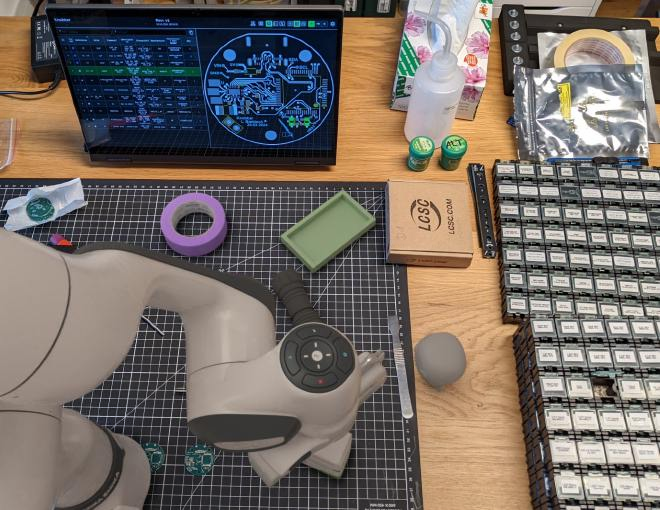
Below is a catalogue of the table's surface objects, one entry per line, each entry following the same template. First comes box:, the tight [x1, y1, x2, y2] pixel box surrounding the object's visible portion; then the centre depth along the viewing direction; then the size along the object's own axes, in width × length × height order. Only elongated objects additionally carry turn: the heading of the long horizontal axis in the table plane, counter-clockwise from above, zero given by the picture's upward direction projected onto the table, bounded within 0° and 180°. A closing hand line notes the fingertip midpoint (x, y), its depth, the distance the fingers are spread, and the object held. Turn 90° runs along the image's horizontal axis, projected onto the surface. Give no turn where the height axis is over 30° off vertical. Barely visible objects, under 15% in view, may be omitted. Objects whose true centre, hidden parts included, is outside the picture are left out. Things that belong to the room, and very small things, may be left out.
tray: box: [280, 189, 377, 274], centre depth 115 cm, size 16×9×2 cm, turn 132°
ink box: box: [301, 431, 353, 480], centre depth 91 cm, size 9×5×12 cm, turn 66°
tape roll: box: [159, 192, 228, 257], centre depth 114 cm, size 12×12×4 cm
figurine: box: [413, 331, 467, 394], centre depth 97 cm, size 8×8×12 cm
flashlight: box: [271, 268, 325, 329], centre depth 105 cm, size 15×5×5 cm, turn 25°
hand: (322, 431), depth 83 cm, fingers open, 8 cm apart
